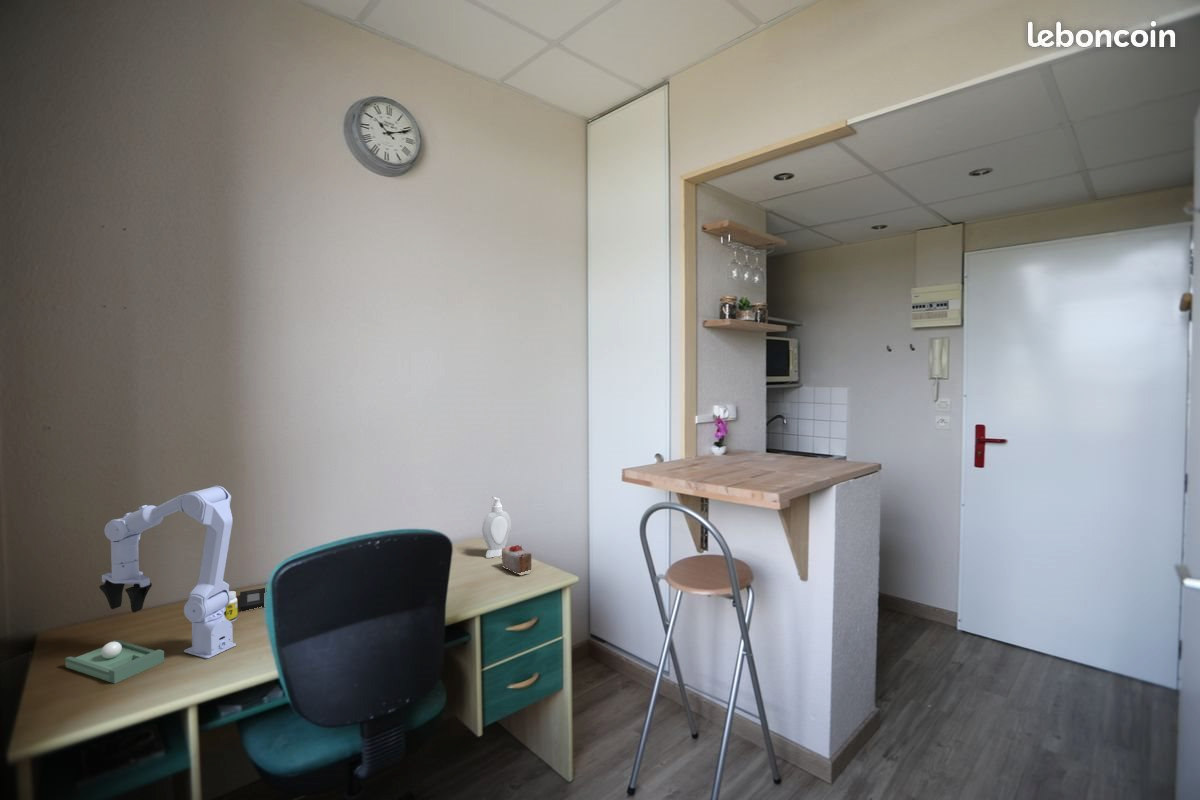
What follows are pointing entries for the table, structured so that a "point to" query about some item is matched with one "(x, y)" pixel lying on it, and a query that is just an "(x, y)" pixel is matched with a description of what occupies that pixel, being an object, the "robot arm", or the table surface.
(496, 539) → the soap bottle
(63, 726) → the table surface
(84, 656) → the green tray
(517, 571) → the food item
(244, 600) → the vhs tape
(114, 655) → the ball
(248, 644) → the table surface
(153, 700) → the table surface
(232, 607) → the supplement bottle
